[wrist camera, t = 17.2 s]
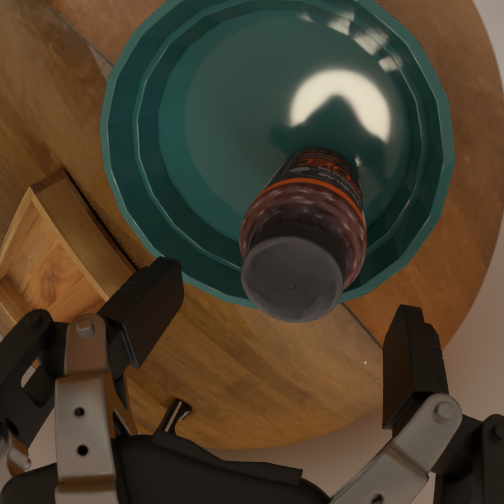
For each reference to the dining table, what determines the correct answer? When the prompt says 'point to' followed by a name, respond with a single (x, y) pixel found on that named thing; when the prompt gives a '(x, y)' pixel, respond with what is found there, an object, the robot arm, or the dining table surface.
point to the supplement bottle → (304, 237)
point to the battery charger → (174, 416)
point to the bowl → (272, 127)
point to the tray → (58, 255)
